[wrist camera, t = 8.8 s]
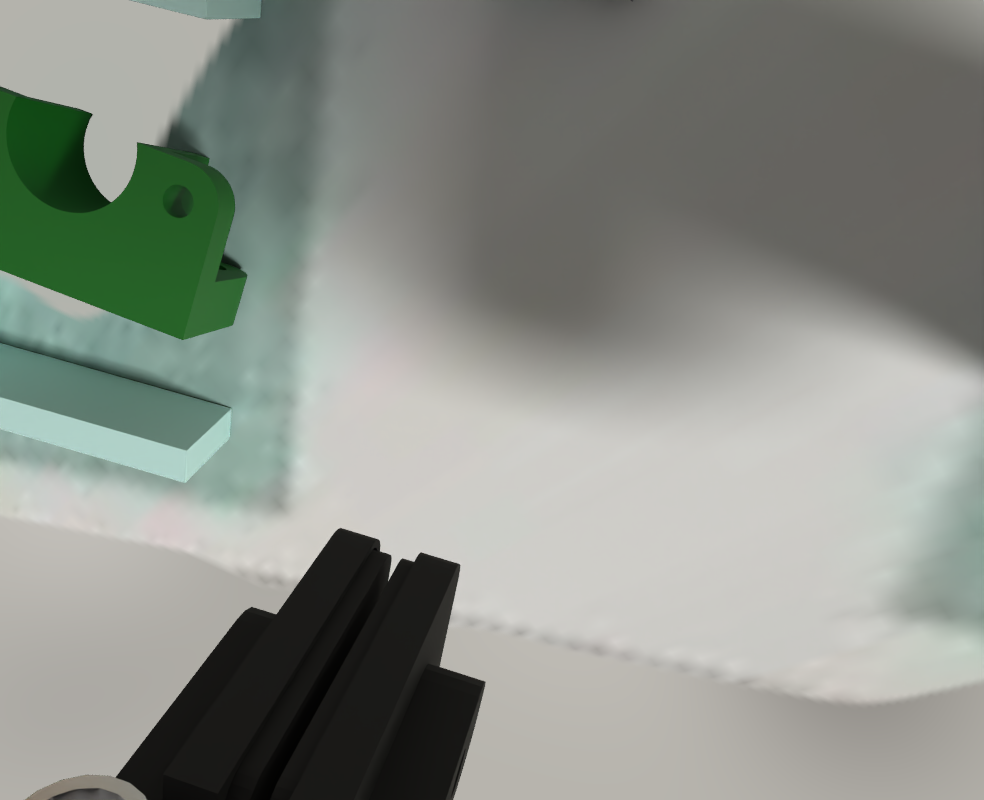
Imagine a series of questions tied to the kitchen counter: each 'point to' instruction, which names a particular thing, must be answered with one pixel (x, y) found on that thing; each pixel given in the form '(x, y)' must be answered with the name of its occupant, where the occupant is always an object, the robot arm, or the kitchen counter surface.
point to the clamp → (115, 224)
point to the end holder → (117, 380)
